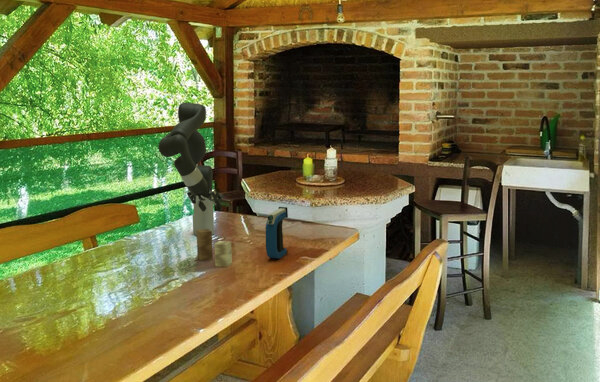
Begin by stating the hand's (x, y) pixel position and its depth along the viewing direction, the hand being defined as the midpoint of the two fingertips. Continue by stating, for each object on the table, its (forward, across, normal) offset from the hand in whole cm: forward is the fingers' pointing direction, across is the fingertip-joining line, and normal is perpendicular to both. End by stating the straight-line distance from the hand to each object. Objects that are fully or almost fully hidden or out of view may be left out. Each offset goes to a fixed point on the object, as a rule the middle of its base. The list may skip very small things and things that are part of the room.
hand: (212, 210), depth 251 cm
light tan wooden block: (+18, +8, +11) cm, 22 cm away
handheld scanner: (+30, -16, -3) cm, 34 cm away
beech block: (+17, -4, +13) cm, 22 cm away
